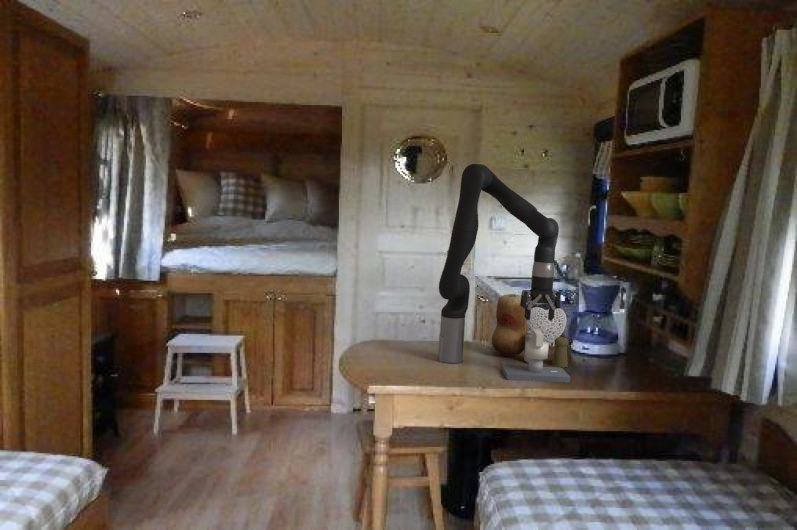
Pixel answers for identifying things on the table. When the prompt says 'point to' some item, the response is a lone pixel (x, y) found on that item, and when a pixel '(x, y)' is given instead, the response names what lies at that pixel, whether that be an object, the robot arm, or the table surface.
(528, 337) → the beverage can
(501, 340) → the butternut squash
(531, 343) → the coupling
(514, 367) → the baseplate
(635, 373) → the table surface
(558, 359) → the cork
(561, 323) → the decorative heart
